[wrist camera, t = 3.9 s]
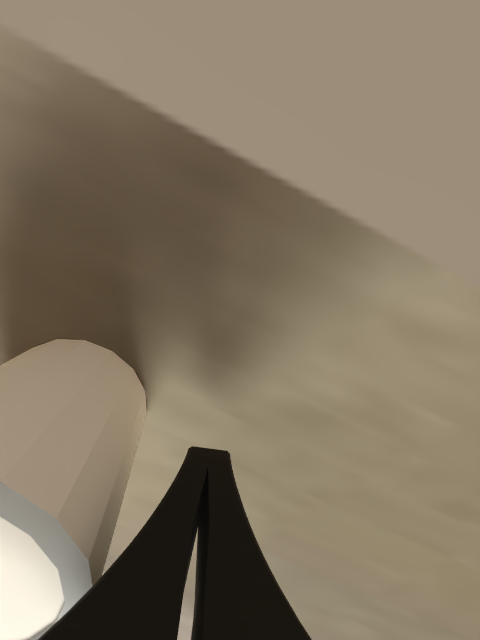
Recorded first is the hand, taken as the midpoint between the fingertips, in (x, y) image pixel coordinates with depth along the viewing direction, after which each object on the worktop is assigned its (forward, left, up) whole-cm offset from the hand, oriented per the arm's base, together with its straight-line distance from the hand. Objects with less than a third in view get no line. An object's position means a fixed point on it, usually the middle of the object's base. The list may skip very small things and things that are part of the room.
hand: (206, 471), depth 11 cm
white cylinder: (0, +6, -3) cm, 6 cm away
